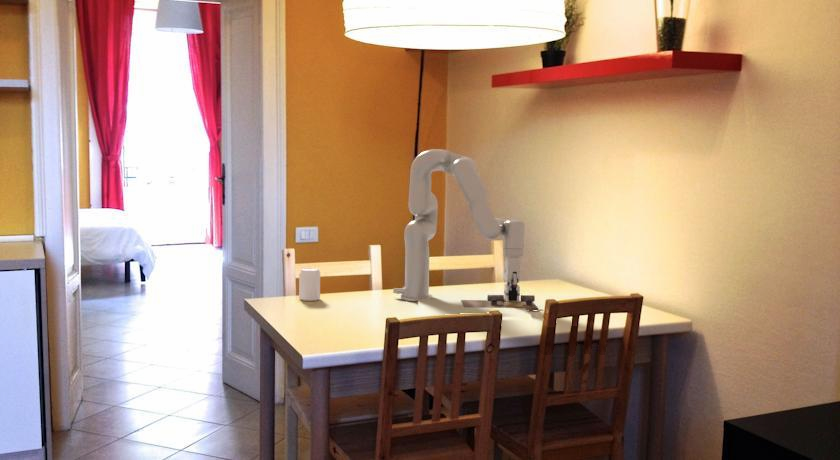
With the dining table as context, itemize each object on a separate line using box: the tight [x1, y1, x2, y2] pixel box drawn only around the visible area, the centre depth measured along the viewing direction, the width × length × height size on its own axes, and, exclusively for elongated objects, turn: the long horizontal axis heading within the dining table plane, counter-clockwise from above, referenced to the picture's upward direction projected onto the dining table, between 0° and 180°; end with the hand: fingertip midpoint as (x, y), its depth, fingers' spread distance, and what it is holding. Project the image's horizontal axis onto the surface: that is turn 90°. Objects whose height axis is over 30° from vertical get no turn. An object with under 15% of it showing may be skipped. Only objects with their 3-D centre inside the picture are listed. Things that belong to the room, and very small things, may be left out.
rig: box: [460, 294, 539, 311], centre depth 306 cm, size 28×13×5 cm, turn 93°
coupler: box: [503, 283, 521, 302], centre depth 306 cm, size 5×5×6 cm
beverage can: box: [298, 267, 321, 302], centre depth 311 cm, size 8×8×12 cm
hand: (511, 298), depth 306 cm, fingers closed on coupler, 5 cm apart
